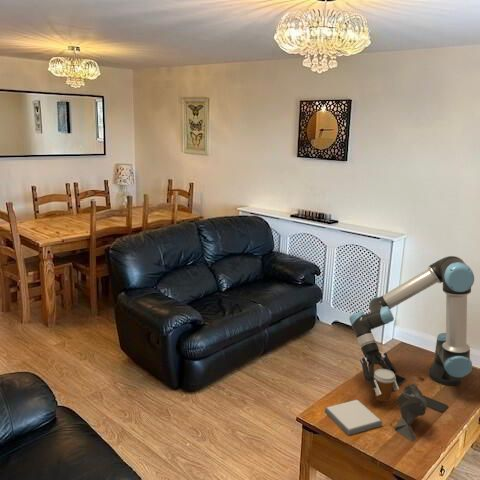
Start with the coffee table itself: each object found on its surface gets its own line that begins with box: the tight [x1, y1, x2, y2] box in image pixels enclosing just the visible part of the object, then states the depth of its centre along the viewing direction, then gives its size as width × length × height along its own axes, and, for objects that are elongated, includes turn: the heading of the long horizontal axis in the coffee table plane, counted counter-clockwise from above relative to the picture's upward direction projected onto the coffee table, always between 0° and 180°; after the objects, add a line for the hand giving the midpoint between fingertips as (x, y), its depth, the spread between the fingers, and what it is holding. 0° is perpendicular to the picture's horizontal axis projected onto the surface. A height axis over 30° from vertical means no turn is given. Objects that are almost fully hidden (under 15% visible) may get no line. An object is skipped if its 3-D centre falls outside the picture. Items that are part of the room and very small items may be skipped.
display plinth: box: [324, 399, 383, 436], centre depth 202 cm, size 17×17×2 cm
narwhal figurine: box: [394, 384, 428, 442], centre depth 196 cm, size 14×15×18 cm
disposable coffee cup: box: [374, 368, 396, 402], centre depth 212 cm, size 10×10×12 cm
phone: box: [422, 394, 449, 414], centre depth 215 cm, size 7×1×15 cm
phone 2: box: [392, 373, 407, 392], centre depth 231 cm, size 8×1×15 cm
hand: (388, 392), depth 210 cm, fingers closed on disposable coffee cup, 9 cm apart
